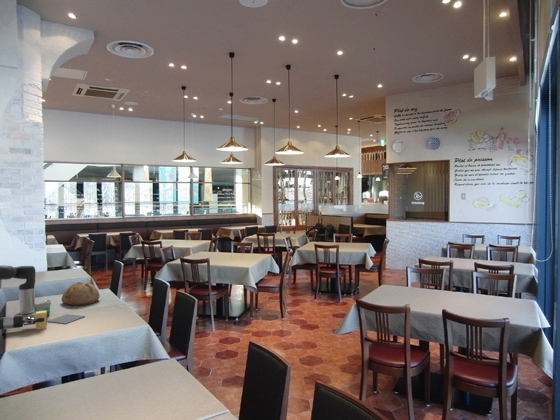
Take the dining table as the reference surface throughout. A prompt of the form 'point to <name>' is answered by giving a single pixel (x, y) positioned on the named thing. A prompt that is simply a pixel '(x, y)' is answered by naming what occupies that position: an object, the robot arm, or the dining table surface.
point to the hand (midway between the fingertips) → (44, 317)
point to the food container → (43, 307)
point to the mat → (66, 319)
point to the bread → (80, 294)
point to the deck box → (41, 315)
